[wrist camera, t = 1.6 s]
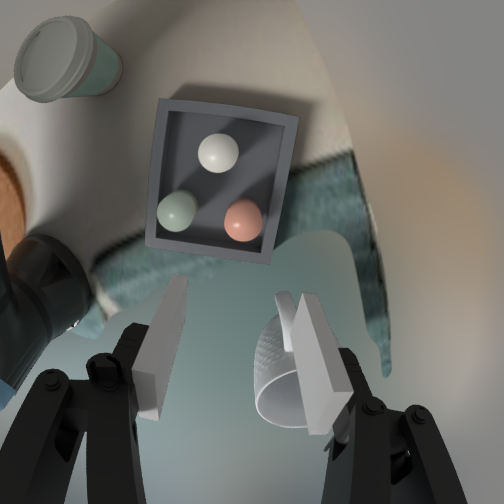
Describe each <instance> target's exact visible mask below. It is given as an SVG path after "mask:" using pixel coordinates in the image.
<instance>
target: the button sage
mask: <svg viewBox="0 0 504 504" xmlns="http://www.w3.org/2000/svg"><path fill="white" fill-rule="evenodd" d="M197 211H198V201H197V198H196V197H195V195H194V194H193V193H192V192H190V191H188V190H186V189H177V190H174V191H173V192H171V193H170V194H169V195H168V196H166V197H165V198H164V199H163V200H162V201H161V202H160V204H159V206H158V208H157V217H158V220H159V222H160V224H161V225H162V226H163V227H164V228H166V229H167V230H170V231H174V232H178V231H182V230H184V229H186V228H187V227H188V226H189V225H190V224H191V222H192V220H193V219H194V217H195V215H196V214H197Z"/></svg>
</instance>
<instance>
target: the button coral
mask: <svg viewBox="0 0 504 504" xmlns="http://www.w3.org/2000/svg"><path fill="white" fill-rule="evenodd" d="M262 224H263V223H262V216H261V211H260V208H259V206H258V205H257V203H256V202H255V201H253V200H251V199H249V198H239V199H236V200H234V201H233V202H232V203H231V204H230V205H229V206H228V209H227V212H226V216H225V221H224V226H225V230H226V232H227V233H228V235H229V236H230V237H231V238H233V239H235V240H237V241H243V242H244V241H250V240H252V239H254V238H255V237H257V236H258V234H259V233H260V231H261V229H262Z"/></svg>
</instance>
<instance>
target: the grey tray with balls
mask: <svg viewBox="0 0 504 504" xmlns="http://www.w3.org/2000/svg"><path fill="white" fill-rule="evenodd" d="M298 122H299V117H297V116H292V115H287V114H282V113H277V112H272V111H266V110H260V109H254V108H248V107H242V106H235V105H227V104H219V103H210V102H201V101H190V100H177V99H160V98H159V102H158V109H157V115H156V122H155V129H154V137H153V144H152V153H151V162H150V172H149V183H148V196H147V211H146V231H145V247H152V248H158V249H165V250H171V251H178V252H185V253H191V254H198V255H205V256H211V257H218V258H225V259H232V260H239V261H245V262H253V263H259V264H266V265H270V262H271V257H272V253H273V248H274V243H275V238H276V234H277V229H278V224H279V219H280V214H281V209H282V204H283V199H284V194H285V189H286V184H287V179H288V174H289V169H290V164H291V159H292V153H293V148H294V143H295V138H296V132H297V127H298ZM212 134H226V135H229V136H231V137H232V138H233V139H234V140H235V141H236V142H237V144H238V147H239V155H238V158H237V161H236V163H235V164H234V166H233V167H232V168H230V169H229V170H227V171H225V172H221V173H215V172H211V171H209V170H207V169H205V168H204V167H203V166H202V164H201V163H200V161H199V157H198V150H199V146H200V144H201V143H202V141H203V140H204V139H205V138H206V137H208V136H210V135H212ZM177 189H186V190H188V191H190V192H192V193H193V194H194V195H195V197H196V198H197V201H198V211H197V214H196V215H195V217H194V219H193V220H192V222H191V224H190V225H189V226H188V227H187V228H186V229H184V230H182V231H178V232H174V231H170V230H167V229H166V228H164V227H163V226H162V225H161V224H160V222H159V220H158V217H157V208H158V206H159V204H160V202H161V201H162V200H163V199H164V198H165V197H166V196H168V195H169V194H170V193H171V192H173V191H174V190H177ZM239 198H249V199H251V200H253V201H255V202H256V203H257V205H258V206H259V208H260V211H261V216H262V223H263V224H262V229H261V231H260V233H259V234H258V236H257V237H255V238H254V239H252V240H250V241H244V242H243V241H237V240H235V239H233V238H231V237H230V236H229V235H228V233H227V232H226V230H225V226H224V221H225V216H226V212H227V209H228V206H229V205H230V204H231V203H232V202H233V201H234V200H236V199H239Z"/></svg>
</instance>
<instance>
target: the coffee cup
mask: <svg viewBox="0 0 504 504" xmlns="http://www.w3.org/2000/svg"><path fill="white" fill-rule="evenodd" d="M122 70H123V64H122V60H121V58H120V56H119V55H118V54H117V53H116V52H115V51H114V50H113V49H112V48H110V47H109V46H108V45H107V44H106V43H105V42H104V41H103V40H102V39H101V38H99V37H98V36H97V35H96V34H95V33H94V32H93V31H92V30H91V28H90V26H89V24H88V23H87V22H86V21H85V20H83V19H81V18H79V17H73V16H63V17H54V18H51V19H48V20H46V21H44V22H43V23H41V24H40V25H38V26H37V27H36V28H35V29H34V30H33V31H32V32H31V33H30V34H29V35H28V36H27V38H26V39H25V41H24V42H23V44H22V46H21V48H20V50H19V52H18V54H17V57H16V61H15V66H14V79H15V83H16V86H17V88H18V89H19V91H20V92H21V93H23V94H24V95H25V96H26V97H27V98H29V99H31V100H33V101H36V102H39V103H48V102H52V101H55V100H57V99H59V98H68V97H80V96H95V95H102V94H105V93H107V92H108V91H110V90H111V89H112V88H113V87H114V86H115V85H116V84H117V83H118V81H119V79H120V77H121V75H122Z"/></svg>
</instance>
